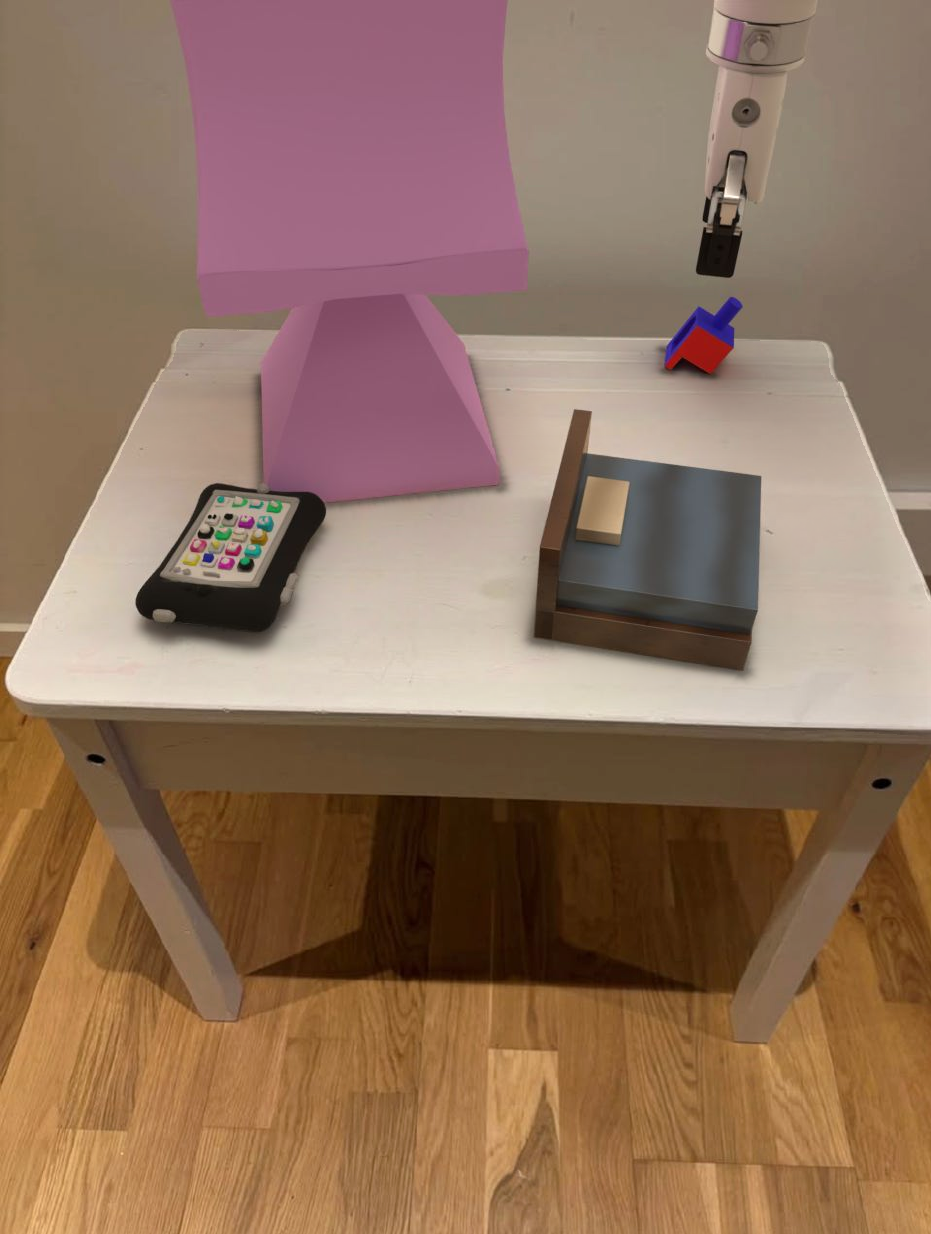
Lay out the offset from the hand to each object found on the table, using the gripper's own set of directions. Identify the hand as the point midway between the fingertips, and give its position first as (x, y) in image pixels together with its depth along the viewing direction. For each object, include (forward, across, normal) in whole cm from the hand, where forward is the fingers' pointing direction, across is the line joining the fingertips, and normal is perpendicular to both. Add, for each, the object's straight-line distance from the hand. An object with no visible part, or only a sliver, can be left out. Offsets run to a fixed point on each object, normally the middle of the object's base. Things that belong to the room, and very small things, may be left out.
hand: (716, 248), depth 88 cm
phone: (+12, -37, +33) cm, 51 cm away
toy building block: (+12, 0, 0) cm, 12 cm away
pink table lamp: (+12, -17, +28) cm, 35 cm away
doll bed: (+11, -31, +2) cm, 33 cm away
